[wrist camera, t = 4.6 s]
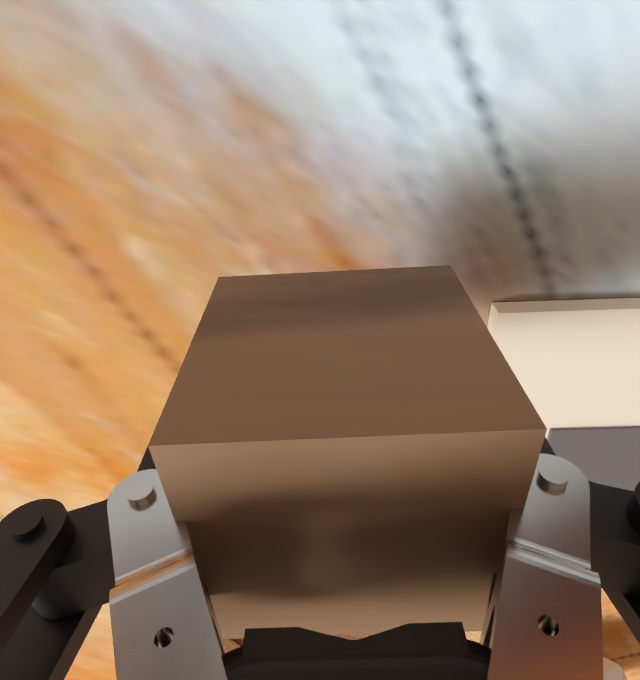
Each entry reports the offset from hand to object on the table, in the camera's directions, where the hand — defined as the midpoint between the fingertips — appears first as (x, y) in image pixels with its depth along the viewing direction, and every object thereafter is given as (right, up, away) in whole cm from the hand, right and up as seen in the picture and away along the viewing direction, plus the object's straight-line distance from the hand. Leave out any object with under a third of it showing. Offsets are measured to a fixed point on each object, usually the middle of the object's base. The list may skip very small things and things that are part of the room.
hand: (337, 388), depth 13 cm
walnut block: (0, +1, +1) cm, 1 cm away
